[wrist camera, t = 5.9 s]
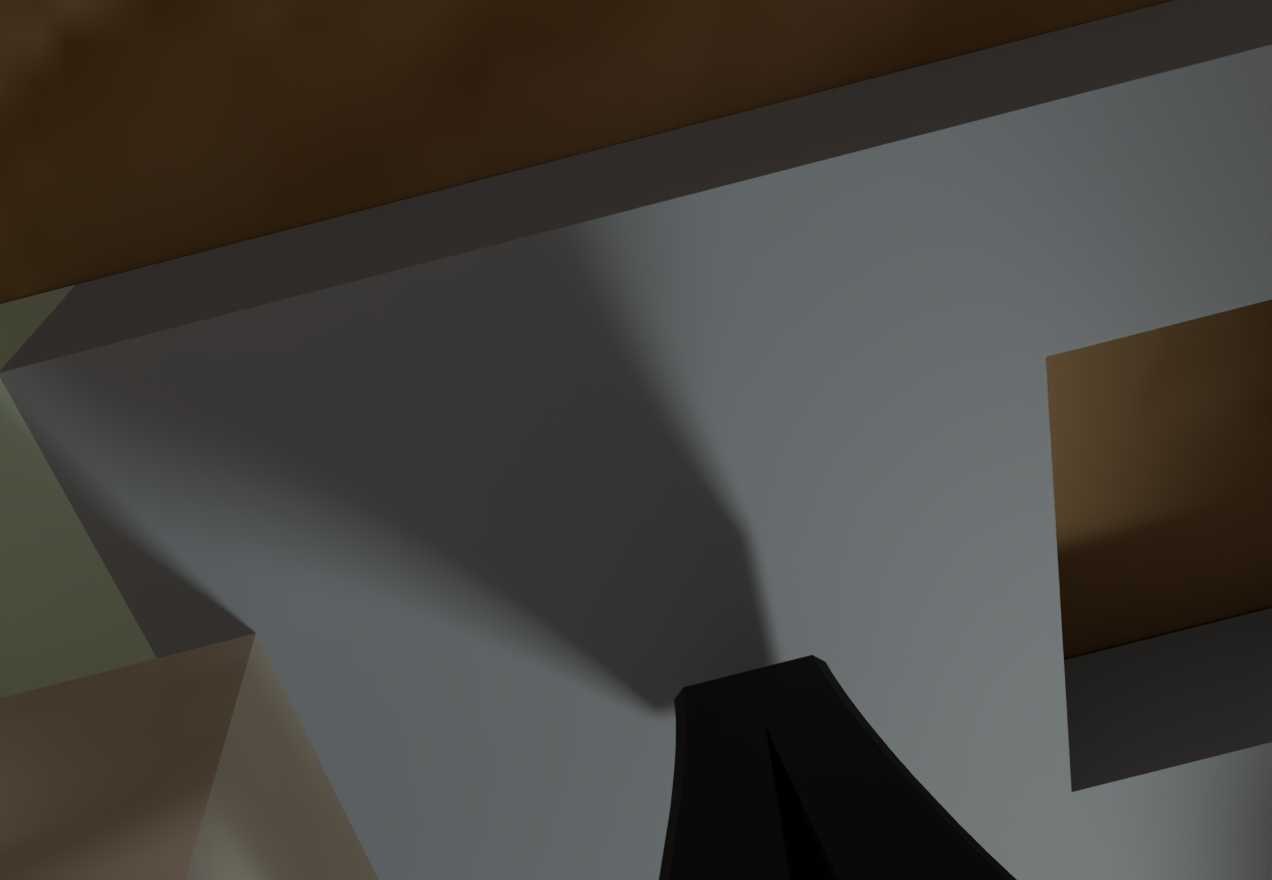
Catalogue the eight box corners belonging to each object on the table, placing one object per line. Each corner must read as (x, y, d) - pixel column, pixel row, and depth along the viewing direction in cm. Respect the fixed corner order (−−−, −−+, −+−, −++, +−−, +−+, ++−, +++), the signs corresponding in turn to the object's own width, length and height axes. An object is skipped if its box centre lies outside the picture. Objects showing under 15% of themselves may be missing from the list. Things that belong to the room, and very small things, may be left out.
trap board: (1646, -122, 11) (2099, -97, 8) (1456, 918, 18) (1653, 1142, 15) (-404, 408, 11) (-741, 633, 8) (218, 1224, 18) (164, 1506, 15)
